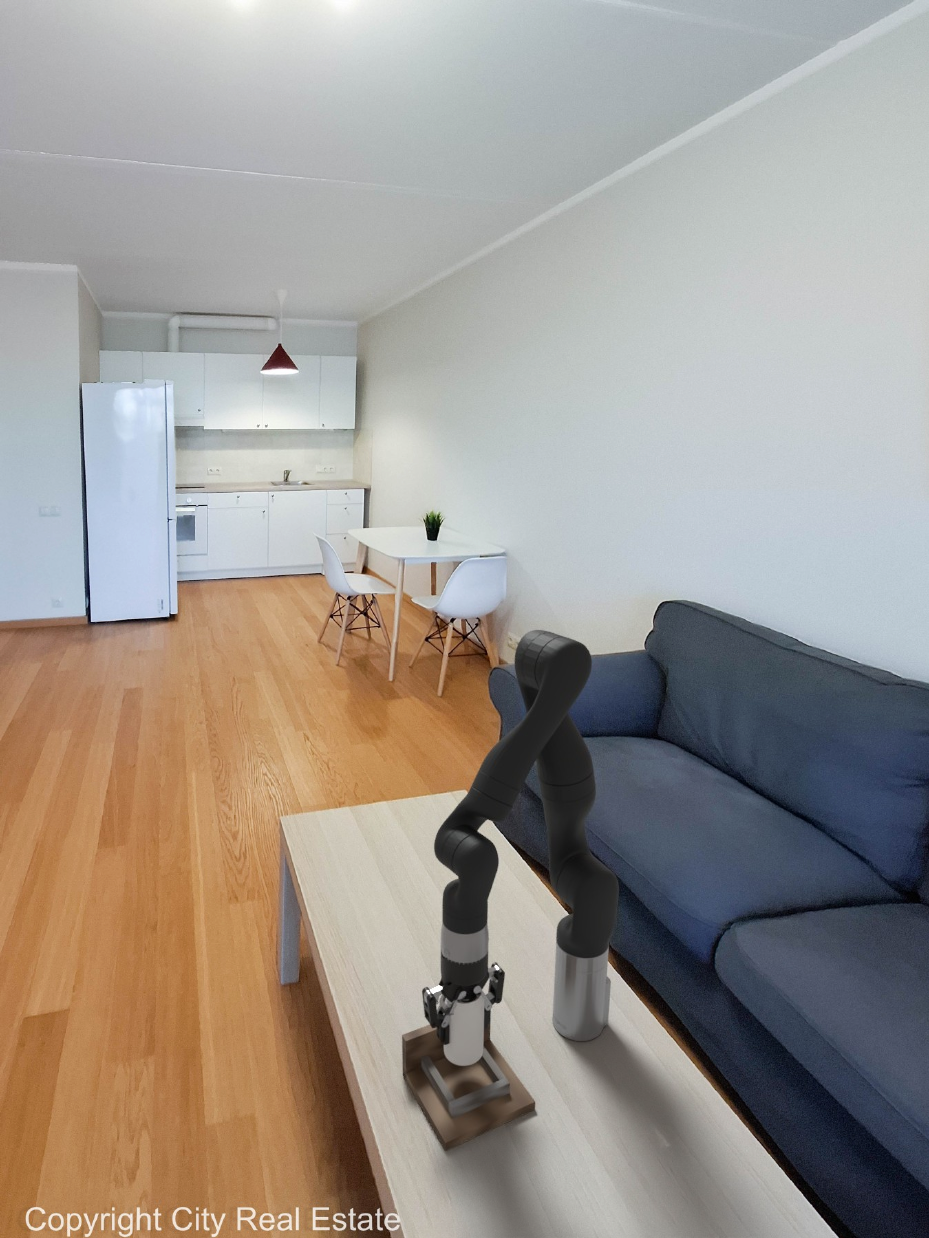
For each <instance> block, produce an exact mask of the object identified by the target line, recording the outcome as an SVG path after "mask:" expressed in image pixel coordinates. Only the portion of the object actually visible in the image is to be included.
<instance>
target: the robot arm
mask: <svg viewBox="0 0 929 1238" xmlns="http://www.w3.org/2000/svg"><path fill="white" fill-rule="evenodd" d="M514 653H515V655H514V671H515V676H516V679H517V684H518V687H519V691H520V694H521V697H522V701H523V704H524V707H525V708H524V709H525V711H526V715H525V716H524V717H523V718H522V719H521V720H520V721H519V723H518V724H517V725H516V726H515V727H514V728H512V729H511V730H510V731H509V732H508V733H507V734H506V735H504V737H502V738H501V739H500V740H499V741H498V742H497V743H496V744H495V745H494V746H493V747H492V748H491V750H489V752H487V755H486V756H485V758H484V760H483V761H482V762H481V765H480V767H479V769H478V771H477V773H476V775H475V777H474V779H473V782H472V783H471V786H470V788H469V789H468V790H469V791H467V794H466V795H465V796H464V798H463V799H461V801H460V802H459V803H458V804H457V806H456V807H455V808H454V809H453V811H452V812H451V813H450V814H449V815H448V817H447V818H446V819H445V820H444V821H443V823H442V824H441V825H440V827H439V828H438V831H437V832H436V834H435V839H434V843H433V850H434V851H433V852H434V856H435V858H436V859H437V860H438V862H440V863H441V864H442V865H443V866H444V867H445V868H447V869H448V870H450V872H452V873H454V875H456V876H457V877H458V878H456V879H453V880H451V881H450V882H448V883H447V884H446V886H445V887H444V889H443V892H442V904H441V906H442V907H441V908H442V911H441V912H442V919H441V920H442V921H441V929H440V975H441V978H440V981H439V982H438V986H436V987H435V986H434V987H433V988H431V989H430V987H428V986H425V987H423V988H422V991H421V995H422V1003H423V1012H424V1013H423V1014H424V1018H425V1019H426V1021H427V1022H428V1025H430V1026H431V1027H432V1028H436V1027H437V1037H438V1038H439V1040H440V1041H441V1043H443V1044H444V1045H447V1044H449V1024H448V1023H449V1021H450V1019H451V1015H454V1009H455V1008H456V1006H457V1001H458V1002H461V1001H463V1000H464V998H465V997H467V996H468V995H469V996H470V995H472V994H476V996H478V995H480V993H481V992H482V994H481V996H482V997H483V998H484V1029H487V1028H488V1024H489V1023H490V1024H491V1022H490V1017H492V1016H491V1012H492V1008H493V1005H494V1004H496V1005H498V1004H500V1003H501V1002H502V1001H503V993H504V985H505V978H506V977H505V976H506V972H505V971H504V969H503V968H502V967H501V966H500V965H499V964H498V962H497V961H494V962H493V963H492V964H491V966H490V967H489V947H490V946H489V941H490V935H489V934H490V933H489V925H488V916H489V915H488V912H489V911H488V909H489V904H488V903H489V901H488V900H489V897H490V894H491V891H492V889H493V885H494V882H495V879H496V876H497V874H498V869H499V864H500V862H499V861H500V859H499V858H500V857H499V853H498V850H497V848H496V846H495V844H494V843H493V841H492V840H491V839H490V838H488V837H487V836H485V835H483V834H482V833H481V832H479V829H480V828H481V827H482V826H483V824H484V823H485V822H486V821H487V820H488V821H490V822H495V823H502V822H505V821H506V819H507V818H508V817H509V815H510V813H511V811H512V809H513V807H514V805H515V803H516V801H517V799H518V796H519V795H520V792H521V790H522V788H523V786H524V783H525V781H526V779H528V775H529V774H530V771H531V769H532V768H533V766H534V765H535V764H536V775H537V780H538V786H539V791H540V792H539V793H540V796H541V801H542V807H543V815H544V821H545V825H546V832H547V840H548V864H549V865H548V867H549V870H548V871H549V879H550V883H551V886H552V888H553V890H554V892H555V893H556V895H557V896H558V898H560V899H561V900H562V901H563V902H564V903H565V904H567V906H568V907H569V908H570V909H571V910H572V913H571V914H568V915H565V916H564V917H562V918H561V919H560V920H559V922H558V923H557V926H556V933H555V935H556V936H555V937H556V938H555V962H554V980H553V981H554V983H553V984H554V985H553V1002H552V1003H553V1004H552V1024H553V1026H554V1029H555V1030H556V1032H558V1033H559V1034H560V1035H561V1036H563V1037H564V1038H566V1039H569V1040H573V1041H575V1042H576V1041H577V1042H587V1041H592V1040H594V1039H596V1038H597V1037H599V1036H600V1035H601V1033H602V1031H603V1029H604V1028H605V1027H607V1026H608V1025H609V1018H610V1017H609V1015H610V1014H609V1013H610V1004H611V1003H610V1000H611V987H612V986H611V985H612V980H611V978H609V976H608V965H609V964H608V962H609V950H610V949H609V947H610V940H611V937H612V935H613V933H614V931H615V926H616V922H617V921H616V920H617V912H618V904H619V897H620V886H619V885H620V884H619V880H618V878H617V875H616V874H615V873H614V872H613V871H612V870H611V869H610V868H609V867H607V866H606V865H605V863H604V864H603V863H602V862H601V861H600V860H599V859H597V858H596V857H595V856H594V855H593V854H592V852H591V850H590V848H589V844H588V840H587V833H586V820H587V818H588V815H590V812H591V810H592V808H593V806H594V805H595V800H596V795H597V784H596V780H595V779H596V777H595V772H594V771H595V770H594V765H593V764H594V763H593V758H592V756H591V753H590V749H589V748H588V745H587V743H586V741H585V740H584V737H583V736H582V735H581V733H580V731H579V729H578V727H577V726H576V724H575V722H574V721H573V719H572V717H571V714H570V713H569V711H570V710H571V708H572V707H573V705H574V704H575V702H576V701H577V699H578V698H579V697H580V695H581V693H582V691H583V690H584V688H585V686H586V684H587V682H588V680H589V677H590V675H591V671H592V666H593V665H592V664H593V660H592V655H591V653H590V650H589V648H587V646H586V645H585V644H584V643H582V642H580V641H578V640H576V639H573V638H570V637H566V636H564V635H560V634H558V633H555V632H551V631H547V630H544V629H534V630H530V631H528V632H527V633H525V634H524V635H523V636H522V637H521V639H520V640H519V641H518V644H517V646H516V648H515V652H514ZM488 981H489V984H488V991H487V992H488V993H486V994H485V992H484V991H483V989H484V987H485V986H486V984H487V982H488ZM445 997H446V998H447V999H448V1000H449V1001H450V1002H452V1004H451V1006H450V1008H449V1007H448V1006H447V1005H446V1003H445ZM438 1004H439V1005H438ZM437 1005H438V1007H437ZM444 1010H445V1014H444Z"/></svg>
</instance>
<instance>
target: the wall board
mask: <svg viewBox="0 0 929 1238" xmlns="http://www.w3.org/2000/svg"><path fill="white" fill-rule="evenodd" d="M491 1017H492V1016H491ZM491 1017H490V1023H489V1024H488V1028H487V1029H484V1042H483V1054H482V1057H481V1058H480V1059H479V1060H478V1061H477V1062H476V1063H474V1064H472V1065H469V1066H458V1065H455V1064H453V1063H451V1062H450V1061H449V1060H448V1059H447V1058H446V1056H445V1054H444V1044H443V1043H441V1041H440V1040H439V1038H438V1037H437V1027H436V1028H432V1027H431V1026H430V1024H426V1025H424V1026H422V1027H420V1028H417V1029H414V1030H412V1031H409V1032H406V1033H404V1034H402V1035H401V1040H402V1041H401V1050H402V1051H401V1055H402V1059H401V1060H402V1062H401V1063H402V1076H403V1077H404V1079H405V1081H406V1083H407V1084H408V1087H409V1088H410V1091H411V1093H412V1094H413V1096H414V1097H415V1099H416V1101H417V1102H418V1104H419V1106H420V1108H421V1110H422V1112H423V1114H424V1115H425V1117H426V1119H427V1120H428V1122H429V1124H430V1126H431V1127H432V1129H433V1132H434V1133H435V1135H436V1137H437V1139H438V1140H439V1142H440V1144H441V1145H442V1147H443V1149H444V1151H445V1152H446V1151H449V1150H450V1149H453V1148H454V1147H457V1146H459V1145H461V1144H464V1143H465V1142H467V1141H470V1140H472V1139H474V1138H476V1137H479V1136H480V1135H483V1134H485V1133H487V1132H489V1131H491V1130H493V1129H496V1128H498V1127H500V1126H502V1125H504V1124H506V1123H508V1122H510V1121H513V1120H515V1119H517V1118H519V1117H521V1116H523V1115H526V1114H528V1113H529V1112H531V1111H532V1112H533V1111H535V1110H536V1100H535V1099H534V1098H533V1097H532V1095H531V1094H530V1092H529V1091H528V1089H527V1088H526V1087H525V1085H524V1084H523V1082H522V1081H521V1080H520V1078H518V1076H517V1074H516V1073H515V1071H514V1070H513V1069H512V1068H511V1066H510V1065H509V1063H508V1062H507V1061H506V1059H505V1057H504V1056H503V1055H502V1053H501V1052H500V1051H499V1050H498V1048H497V1047H496V1046H495V1043H493V1042H492V1040H491V1021H492V1020H491Z"/></svg>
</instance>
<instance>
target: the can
mask: <svg viewBox="0 0 929 1238" xmlns="http://www.w3.org/2000/svg"><path fill="white" fill-rule="evenodd" d="M481 994H482V992H481V993H480V995H478V996H476V994H472V995H470V996H469V995H468V996H467V997H465V998H464V1000H463V1001H461V1002H458V1001H457V1006H456V1008H455V1009H454V1015H451V1019H450V1021H449V1023H448V1024H449V1044H447V1045H444V1054H445V1056H446V1058H447V1059H448V1060H449V1061H450V1062H451V1063H453V1064H455V1065H458V1066H469V1065H472V1064H474V1063H476V1062H477V1061H478V1060H479V1059H480V1058H481V1057H482V1054H483V1042H484V998H483V997H482V996H481ZM445 1003H446V1005H447V1006H448V1007H449V1008H450V1006H451V1004H452V1002H450V1001H449V1000H448V999H447V998H446V997H445ZM444 1014H445V1010H444ZM444 1014H443V1015H444Z"/></svg>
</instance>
